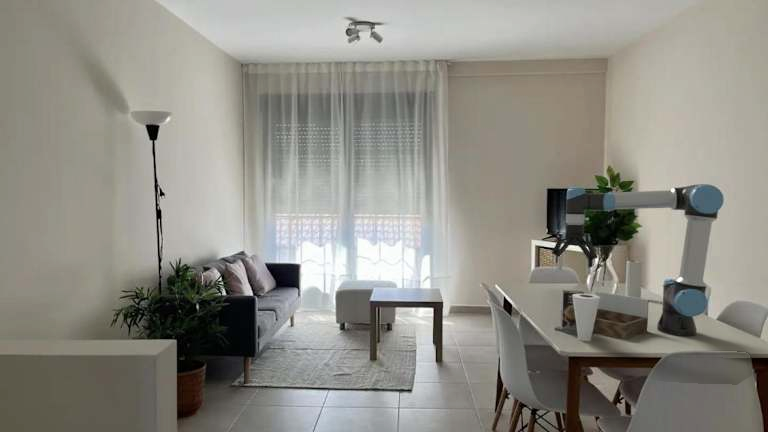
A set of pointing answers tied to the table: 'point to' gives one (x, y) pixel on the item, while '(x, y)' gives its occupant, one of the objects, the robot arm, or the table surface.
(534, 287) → the table surface
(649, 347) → the table surface
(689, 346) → the table surface
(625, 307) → the lid
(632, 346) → the table surface
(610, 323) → the wooden tray
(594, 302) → the cup
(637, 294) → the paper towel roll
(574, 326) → the coffee box
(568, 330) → the slate mat
